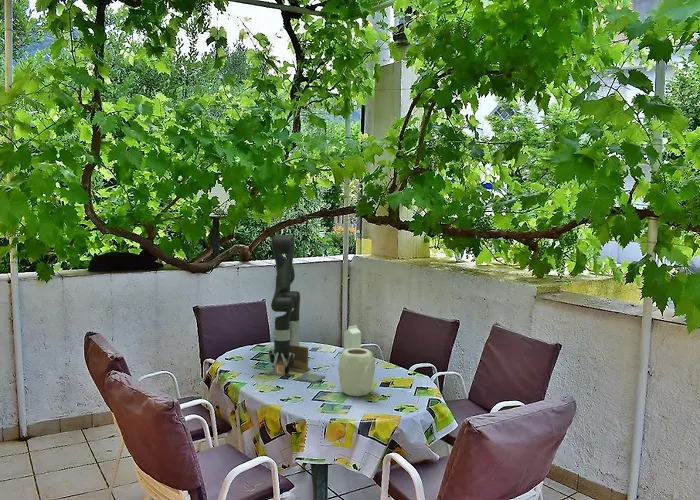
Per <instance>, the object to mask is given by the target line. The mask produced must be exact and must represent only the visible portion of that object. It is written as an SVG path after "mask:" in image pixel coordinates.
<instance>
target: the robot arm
mask: <svg viewBox="0 0 700 500" xmlns="http://www.w3.org/2000/svg"><path fill="white" fill-rule="evenodd" d="M295 243H296V242H295V237H294V235H291V234H281V235H279V234H277V235H273V236H272V238H271V248H272V249H271V250H272V254H273V257H274V261H275V270H276V276H275V290H274V291H275V292H274V294H273V296H272V301H271V303H270V304H271V305H270V307H271V310H272V311H274V313H277V312H278V313H283V315H279V316H276V317H275V319H274V333H273V334H274V335H273V337H274V338H273V348H274V349H271V350H268V355H269V356H268V357H269V362H270V363H271V364H273V366H274V368H273V370H274V372H275V364H276V363H278V362H279V360H280V359H282V360H283V362H284V363H285V366H286V367H285V374H286V375H288V374H289V373H290V371H289V366H291V365H293V362H294V358H295V353H290V350H289V348H290V345H297V346H300V339H301V338H300V335H301V334H300V306H301V305H300V304H301V293H300V292H299V290H298V291H295V290H291V285H292V284H293V282H294V281H295V277H296V276H295V275H296V274H295V268H294V265H293V263H294V255H295V247H296V246H295ZM283 254H285V255H286V254H287V255H286V257H285V256H284V255H283ZM284 312H285V313H284ZM275 355H276V357H275ZM288 356H290V360H289V357H288Z"/></svg>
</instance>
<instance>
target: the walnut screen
mask: <svg viewBox="0 0 700 500" xmlns="http://www.w3.org/2000/svg"><path fill="white" fill-rule="evenodd" d="M289 350H290V353H295V358H294V362H293V365H291V366H289V372H295V373H301V374H305V373H308V372H309V371H311V368H310V367H309V346H303V345H299V346H297V345H290V348H289ZM274 357H276V355H275V354H274ZM288 357H289V360H290V356H288ZM279 362H283V360H282V359H280V360H279ZM272 369H274V365H272Z"/></svg>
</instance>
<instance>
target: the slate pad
mask: <svg viewBox="0 0 700 500" xmlns="http://www.w3.org/2000/svg"><path fill="white" fill-rule="evenodd" d="M325 378H326V375H322V374H317V373H311V372H310V373H309V372H306V373H303V374H301V375H300V376H298V377H297V378H295V380H296V381H299V382H303V383H311V384H317V383H319V382H320V381H322V380H323V379H325Z"/></svg>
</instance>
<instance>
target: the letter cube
mask: <svg viewBox="0 0 700 500" xmlns="http://www.w3.org/2000/svg"><path fill="white" fill-rule="evenodd" d="M285 367H286V366H285V363H284V362H278V363H276V364H275V371H274V375H275V376H280V377H284V376H286V375H287V374H285Z"/></svg>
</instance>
